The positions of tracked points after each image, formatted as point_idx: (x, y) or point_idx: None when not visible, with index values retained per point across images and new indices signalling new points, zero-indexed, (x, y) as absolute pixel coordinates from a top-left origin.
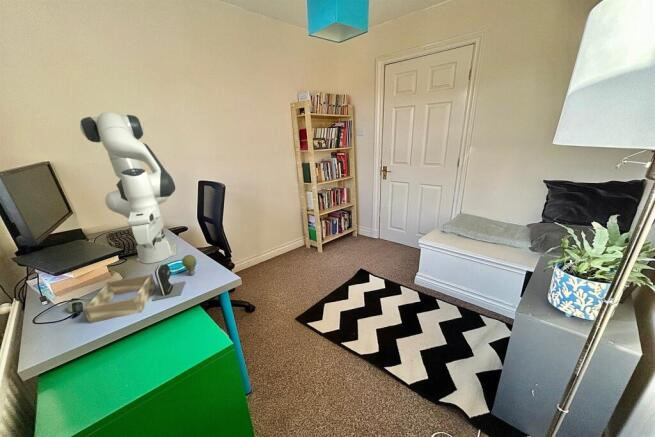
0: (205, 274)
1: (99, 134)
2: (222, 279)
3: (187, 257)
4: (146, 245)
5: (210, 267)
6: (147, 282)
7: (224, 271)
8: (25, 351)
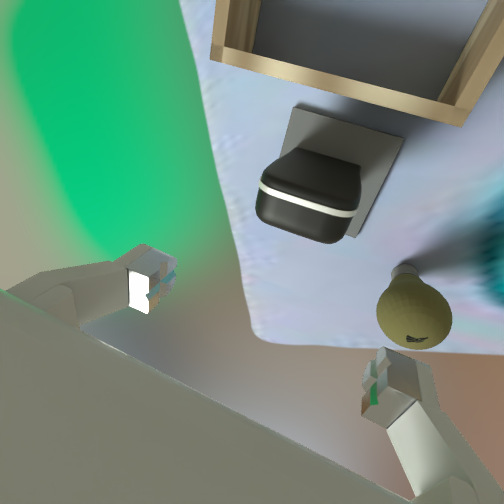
0: (360, 302)
1: None
2: (280, 321)
3: (399, 330)
4: (49, 280)
5: None
6: (362, 100)
7: (328, 344)
8: None
